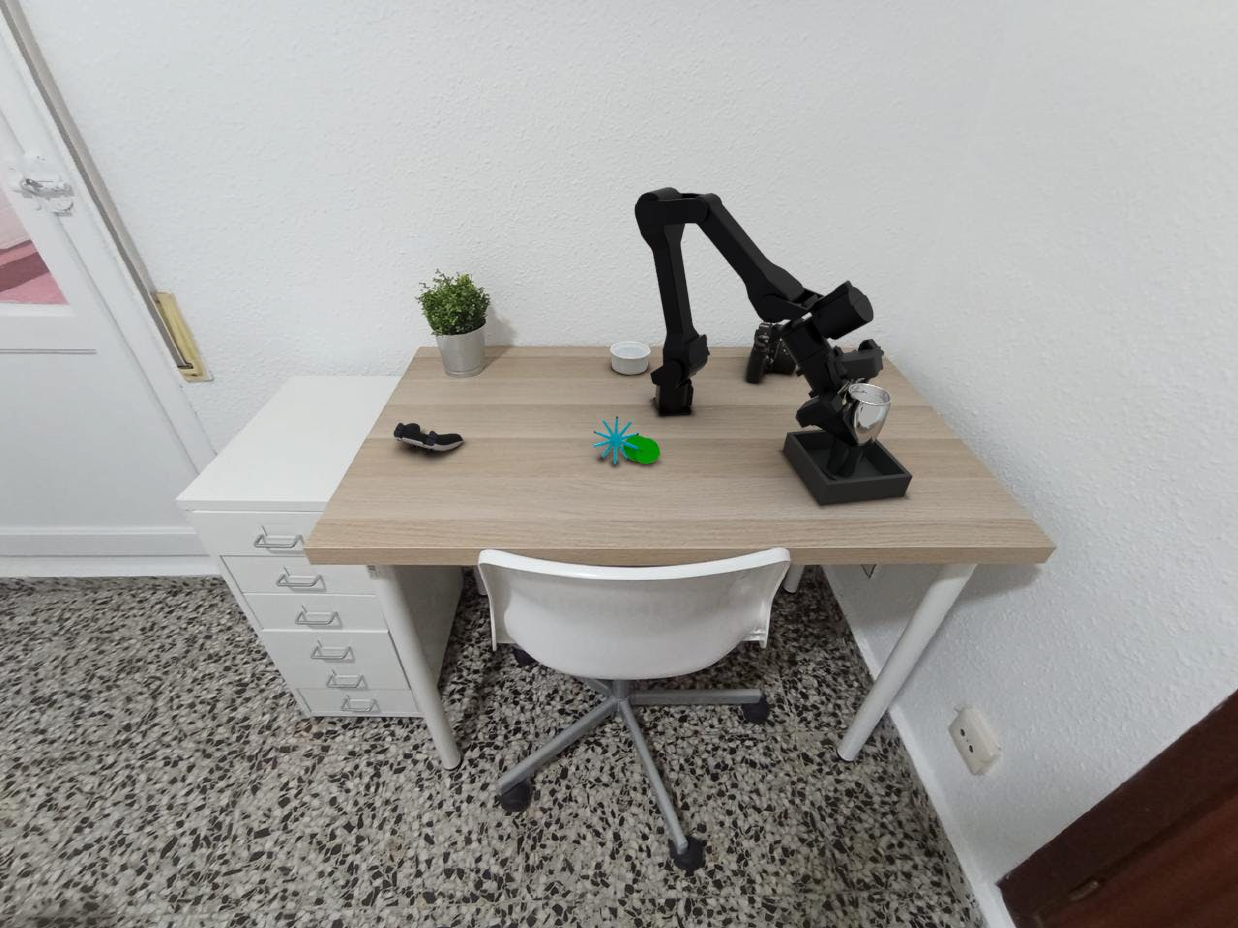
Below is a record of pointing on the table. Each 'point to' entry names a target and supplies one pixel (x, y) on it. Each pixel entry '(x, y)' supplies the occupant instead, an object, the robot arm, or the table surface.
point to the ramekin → (629, 357)
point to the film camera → (767, 355)
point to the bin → (875, 480)
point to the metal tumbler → (858, 430)
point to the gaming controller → (426, 438)
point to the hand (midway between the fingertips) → (862, 436)
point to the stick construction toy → (630, 445)
